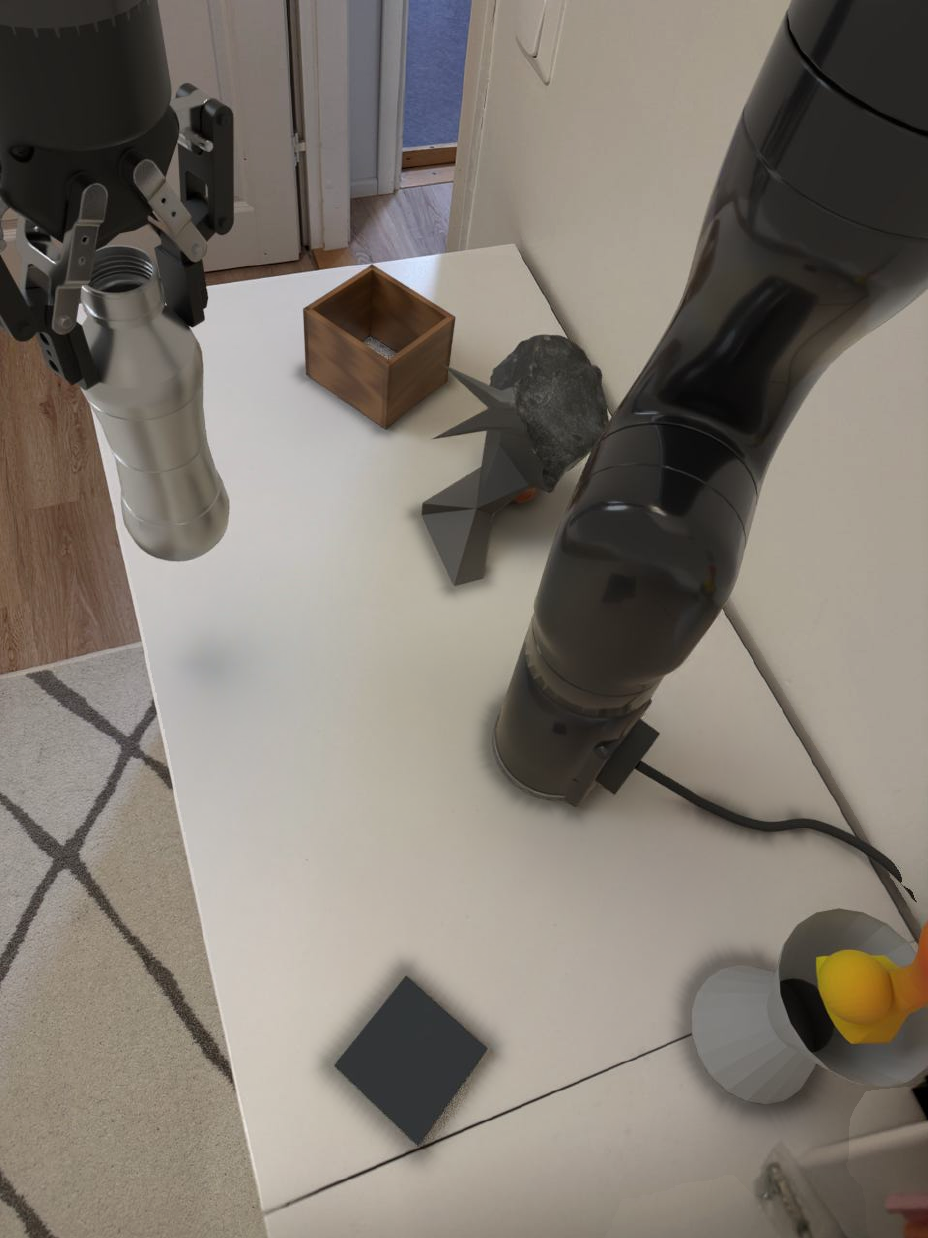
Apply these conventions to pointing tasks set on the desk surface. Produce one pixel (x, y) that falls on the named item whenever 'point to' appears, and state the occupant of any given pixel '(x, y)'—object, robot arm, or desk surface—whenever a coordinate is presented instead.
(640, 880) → the desk surface
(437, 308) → the crate
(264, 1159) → the desk surface
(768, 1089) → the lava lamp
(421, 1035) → the mat
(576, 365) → the grey spiky piece
